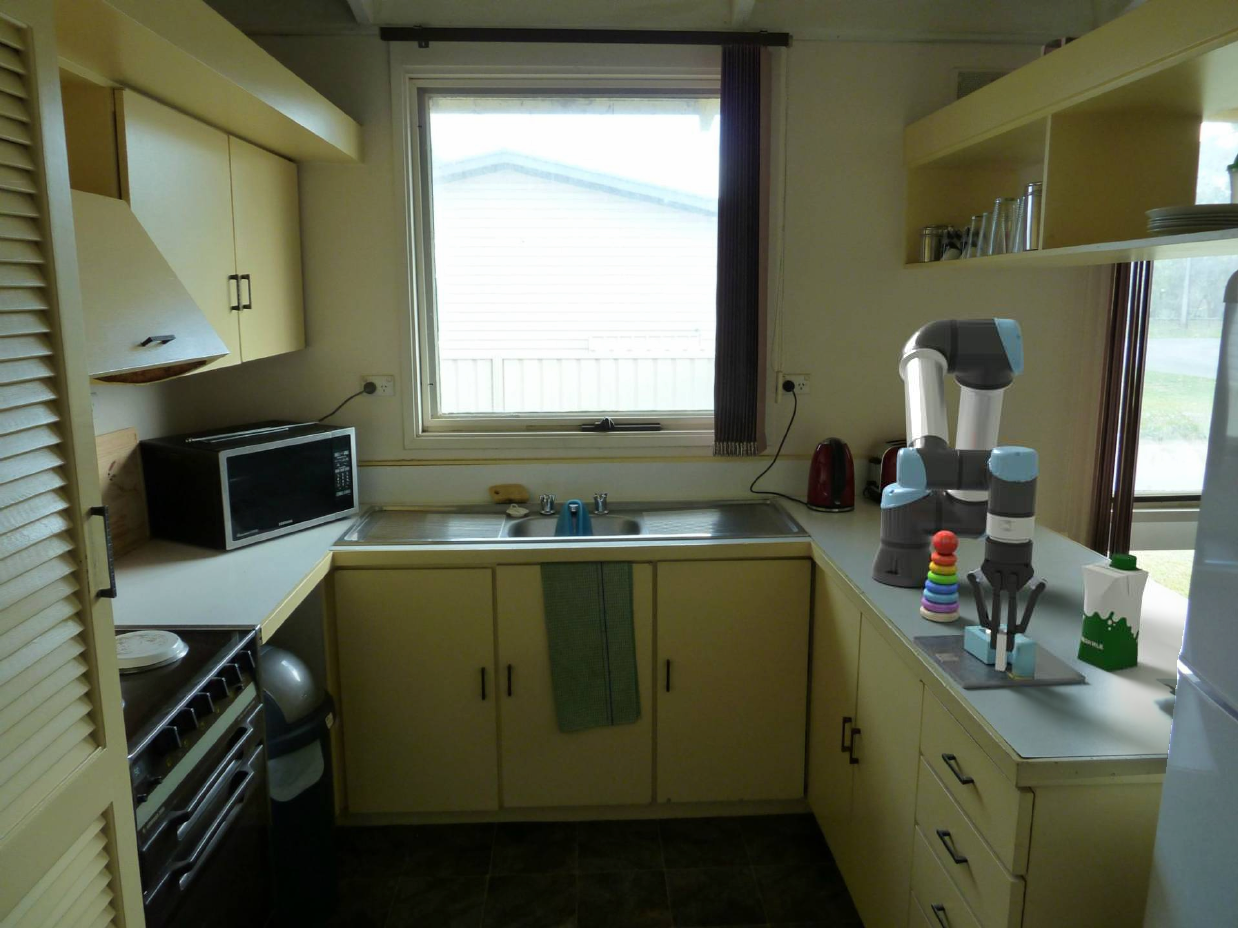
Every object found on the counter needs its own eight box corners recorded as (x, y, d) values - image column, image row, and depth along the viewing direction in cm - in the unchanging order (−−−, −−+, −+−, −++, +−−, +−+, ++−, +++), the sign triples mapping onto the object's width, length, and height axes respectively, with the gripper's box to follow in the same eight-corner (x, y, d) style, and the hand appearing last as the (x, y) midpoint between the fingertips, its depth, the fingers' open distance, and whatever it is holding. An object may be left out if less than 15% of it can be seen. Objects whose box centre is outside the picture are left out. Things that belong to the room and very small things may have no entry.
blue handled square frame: (1008, 679, 159) (1010, 646, 158) (963, 647, 173) (965, 617, 172) (1049, 675, 160) (1052, 643, 159) (1001, 644, 174) (1003, 614, 173)
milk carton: (1145, 667, 166) (1155, 561, 163) (1108, 674, 163) (1117, 566, 160) (1105, 650, 174) (1113, 548, 171) (1068, 657, 171) (1076, 554, 168)
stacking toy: (921, 621, 191) (925, 534, 187) (918, 609, 198) (922, 525, 195) (961, 624, 189) (966, 536, 186) (956, 611, 197) (961, 526, 193)
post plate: (913, 641, 180) (914, 612, 179) (1020, 636, 182) (1022, 607, 181) (963, 688, 158) (965, 655, 157) (1085, 682, 160) (1087, 649, 159)
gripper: (965, 537, 157) (957, 667, 161) (1048, 547, 150) (1038, 682, 154) (972, 528, 163) (965, 653, 167) (1053, 537, 157) (1043, 667, 161)
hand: (1000, 667), depth 161 cm, fingers closed
